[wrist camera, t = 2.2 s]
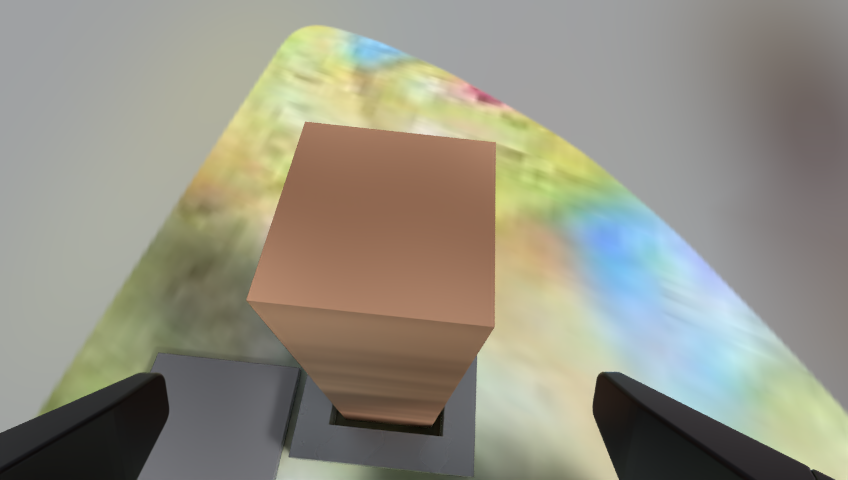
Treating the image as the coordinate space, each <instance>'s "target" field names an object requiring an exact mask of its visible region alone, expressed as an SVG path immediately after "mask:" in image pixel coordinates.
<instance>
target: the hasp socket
mask: <svg viewBox="0 0 848 480" xmlns="http://www.w3.org/2000/svg"><path fill="white" fill-rule="evenodd" d="M476 373H477V356H476V357H475V359H474V360H473V362H472V363H471V365H470V367H469V368H468V370H467V371H466V373H465V374H464V376H463V378H462V379H461V381H460V382H459V384H458V385H457V387H456V389H455V390H454V392H453V393H452V395H451V397H450V398H449V400H448V401H447V403H446V404H445V406H444V408H443V409H442V411H441V422H440V436H431V435H422V434H413V433H403V432H394V431H385V430H375V429H366V428H357V427H347V426H338V425H335V420H336V415H337V408H336V407H335V406H334V405H333V404H332V402H331V401H330V400H329V399H328V398H327V396H326V395H325V394H324V393H323V392H322V390H321V389H320V388H319V387H318V386H317V384H316V383H315V382H314V381H313V380H312V379H311V377H310V376H309V375H308V374H307V378H306V383H305V387H304V392H303V396H302V400H301V405H300V409H299V413H298V418H297V422H296V426H295V431H294V435H293V440H292V444H291V448H290V453H289V457H291V458H295V459H302V460H312V461H321V462H330V463H340V464H349V465H358V466H368V467H377V468H386V469H396V470H405V471H414V472H424V473H433V474H442V475H452V476H461V477H474V446H475V410H476Z"/></svg>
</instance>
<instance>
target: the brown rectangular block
mask: <svg viewBox="0 0 848 480" xmlns="http://www.w3.org/2000/svg"><path fill="white" fill-rule="evenodd" d="M495 165H496V142H486V141H477V140H468V139H459V138H450V137H440V136H431V135H422V134H413V133H404V132H394V131H385V130H376V129H367V128H358V127H349V126H339V125H330V124H321V123H312V122H305V124H304V127H303V130H302V133H301V136H300V139H299V142H298V145H297V148H296V151H295V154H294V157H293V160H292V163H291V166H290V169H289V172H288V175H287V178H286V181H285V184H284V187H283V190H282V193H281V196H280V199H279V202H278V205H277V208H276V212H275V215H274V218H273V221H272V224H271V227H270V230H269V233H268V236H267V239H266V242H265V245H264V248H263V251H262V254H261V257H260V260H259V263H258V266H257V269H256V272H255V275H254V278H253V281H252V284H251V287H250V290H249V293H248V296H247V299H246V301H247V302H248V303H249V304H250V306H251V307H252V308H253V309H254V310H255V312H256V313H257V314H258V315H259V316H260V318H261V319H262V320H263V321H264V322H265V324H266V325H267V326H268V327H269V328H270V330H271V331H272V332H273V333H274V334H275V335H276V337H277V338H278V339H279V340H280V341H281V343H282V344H283V345H284V346H285V347H286V349H287V350H288V351H289V352H290V353H291V355H292V356H293V357H294V358H295V359H296V361H297V362H298V363H299V364H300V365H301V367H302V368H303V369H304V370H305V371H306V373H307V374H308V375H309V376H310V377H311V379H312V380H313V381H314V382H315V383H316V384H317V386H318V387H319V388H320V389H321V390H322V392H323V393H324V394H325V395H326V396H327V398H328V399H329V400H330V401H331V402H332V404H333V405H334V406H335V407H336V408H337V410H338V411H339V412H340V413H341V414H342V416H343V417H344V418H345V419H347V420H357V421H366V422H375V423H385V424H394V425H403V426H413V427H422V428H431V427H432V425H433V423H434V422H435V420H436V419H437V417H438V415H439V414H440V412H441V411H442V409H443V408H444V406H445V404H446V403H447V401H448V400H449V398H450V397H451V395H452V393H453V392H454V390H455V389H456V387H457V385H458V384H459V382H460V381H461V379H462V378H463V376H464V374H465V373H466V371H467V370H468V368H469V367H470V365H471V363H472V362H473V360H474V359H475V357H476V356H477V354H478V352H479V351H480V349H481V348H482V346H483V344H484V343H485V341H486V340H487V338H488V337H489V335H490V333H491V332H492V330H493V329H494V327H495Z"/></svg>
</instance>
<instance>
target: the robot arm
mask: <svg viewBox="0 0 848 480" xmlns="http://www.w3.org/2000/svg"><path fill="white" fill-rule="evenodd" d="M593 415H594V418H595V421H596V423H597V426H598V428H599V431H600V433H601V436H602V438H603V441H604V443H605V446H606V448H607V451H608V453H609V456H610V458H611V461H612V463H613V466H614V468H615V471H616V473H617V476H618V478H619V480H835V479H833V478H831V477H829V476H827V475H825V474H823V473H821V472H819V471H817V470H814V469H813V470H810V468H809V467H808V466H806V465H804V464H802V463H800V462H798V461H796V460H794V459H792V458H790V457H788V456H786V455H784V454H782V453H780V452H778V451H776V450H774V449H772V448H770V447H768V446H766V445H764V444H762V443H760V442H758V441H756V440H754V439H752V438H750V437H748V436H746V435H744V434H742V433H740V432H738V431H736V430H734V429H732V428H730V427H728V426H726V425H724V424H722V423H720V422H718V421H716V420H714V419H712V418H710V417H708V416H706V415H704V414H702V413H700V412H698V411H696V410H694V409H692V408H690V407H688V406H686V405H684V404H682V403H680V402H678V401H676V400H674V399H672V398H670V397H668V396H666V395H664V394H662V393H660V392H658V391H656V390H654V389H652V388H650V387H648V386H646V385H644V384H642V383H640V382H638V381H636V380H634V379H632V378H630V377H628V376H626V375H624V374H622V373H620V372H601V373H600V374H599V375H598V377H597V380H596V387H595V393H594V399H593ZM168 416H169V401H168V394H167V388H166V381H165V377H164V376H163V375H162V374H161V373H138V374H135V375H133V376H131V377H128V378H126V379H124V380H121V381H119V382H117V383H115V384H112V385H110V386H108V387H105V388H103V389H101V390H98V391H96V392H94V393H92V394H89V395H87V396H85V397H82V398H80V399H78V400H75V401H73V402H71V403H69V404H66V405H64V406H62V407H59V408H57V409H55V410H52V411H50V412H48V413H45V414H43V415H41V416H39V417H36V418H34V419H32V420H29V421H27V422H25V423H22V424H20V425H18V426H16V427H13V428H11V429H9V430H6V431H4V432H2V433H0V480H137V479H138V477H139V475H140V473H141V471H142V469H143V467H144V465H145V464H146V462H147V460H148V458H149V456H150V454H151V452H152V450H153V448H154V446H155V444H156V442H157V440H158V438H159V436H160V434H161V432H162V430H163V428H164V426H165V424H166V422H167V419H168Z"/></svg>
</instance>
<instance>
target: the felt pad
mask: <svg viewBox="0 0 848 480" xmlns="http://www.w3.org/2000/svg"><path fill="white" fill-rule="evenodd" d="M150 373H161V374H162V375H163V376H164V377H165V381H166V388H167V394H168V401H169V416H168V419H167V422H166V424H165V426H164V428H163V430H162V432H161V434H160V436H159V438H158V440H157V442H156V444H155V446H154V448H153V450H152V452H151V454H150V456H149V458H148V460H147V462H146V464H145V465H144V467H143V469H142V471H141V473H140V475H139V477H138V479H137V480H275V479H276V475H277V470H278V466H279V462H280V458H281V454H282V449H283V445H284V441H285V437H286V433H287V428H288V424H289V420H290V416H291V411H292V407H293V403H294V399H295V395H296V390H297V386H298V382H299V378H300V374H301V369H300V368H296V367H287V366H278V365H268V364H259V363H250V362H240V361H231V360H222V359H213V358H203V357H194V356H185V355H175V354H166V353H158V355H157V357H156V360H155V362H154V364H153V367H152V369H151V372H150Z"/></svg>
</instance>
